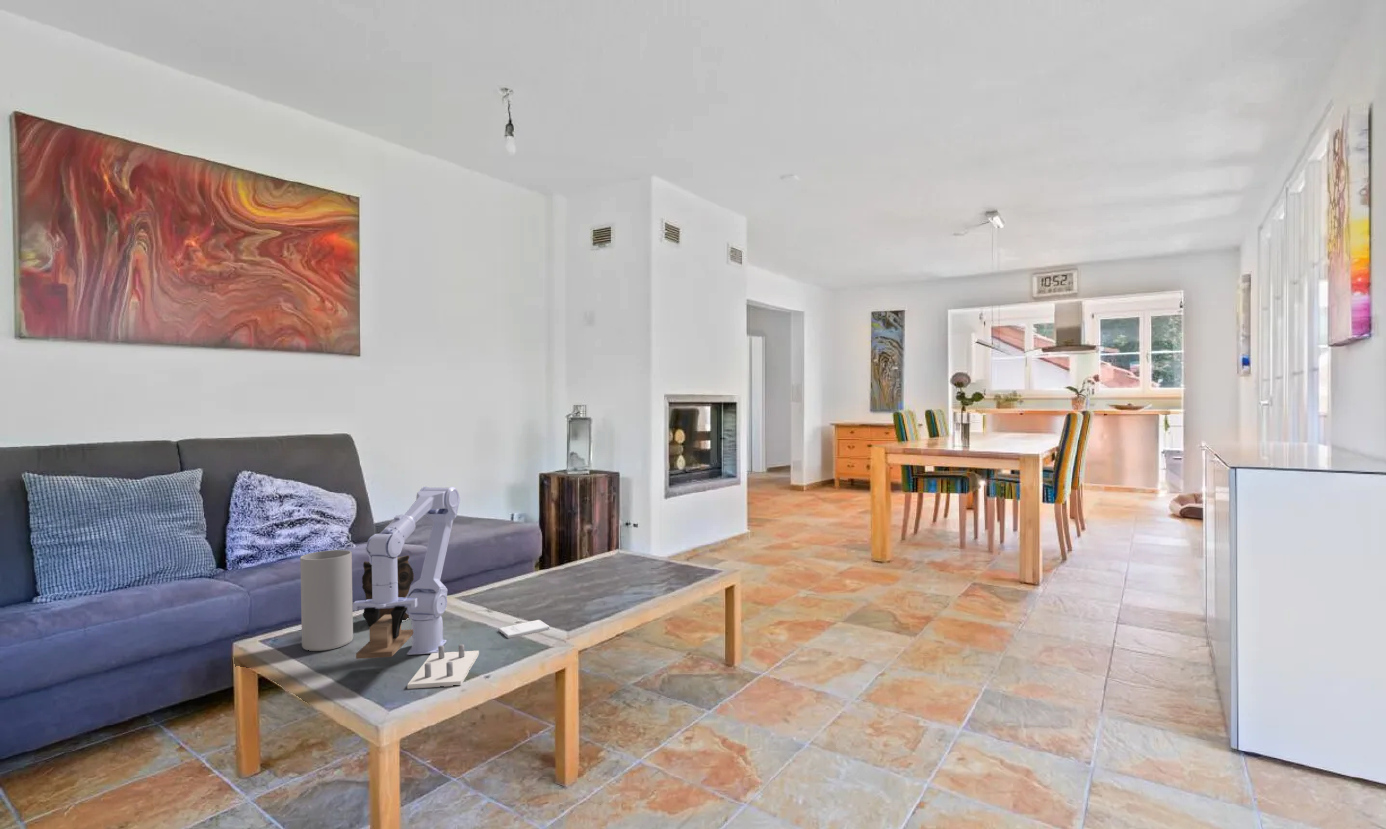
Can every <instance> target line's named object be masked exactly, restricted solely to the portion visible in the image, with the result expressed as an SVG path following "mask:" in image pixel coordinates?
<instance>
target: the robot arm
mask: <svg viewBox="0 0 1386 829" xmlns="http://www.w3.org/2000/svg"><path fill="white" fill-rule="evenodd" d="M415 498H416V500H415V501H414V502H413V504H412V505H411V506H410V507H409V509H408V510H407V511H406V512H405V513H404V514H398V515H395V516H394V517H393V520H391V522H389V524H387V525H386V526H385V528H384V529H383V530H381V531H380V533H374V534H373V535H372V536H370V537H369V538H368V540H367V542H366V546H365V552H366V555H367V556H368V559H369V560H368V562H369V563H370V564H371V565H372V599H369V600H366V599H363V600H355V601H354V602H353V612H355V611H356V612H357V611H359V610H363V613H362V617H363V618H364V620H365V622H366V624H367V626H368V625H369V627H368V628H370V627H371V626H372V625H373V624H374V623H375V622H377V621H378V620H379V616H380V609H384V608H394V610H392V611H391V616H392V623H393V639H396V638H397V637H398V636H399V630H400V626H401V627H402V624H403V622H402V620H403V617H404V615H405V613H406V614H408V615H409V618H411V619H410V620H411V629H413V635H412V636H411V648H409V650H408V651H407V652H406V655H407V656H411V655H415V656H416V655H429V654H430V655H431V653H438V647H439V646H441V645H443V646H445V645H446V644H447V639H444V626H443V625H444V623H443V617H442V615H444V612H446V609H447V606H448V588H447V586H445V584H444V583H443V582H442V581H441V579H442V574H443V569H444V564H445V560H446V555H447V551H448V546H449V541H450V538H451V533H452V527H453V524H454V520H455V519H456V518H457V515H458V510H459V506H460V502H461V497H460V494H459V491H458V489H457V488H456V487H454V486H449V487H442V486H440V487H436V486H431V487H430V486H423V487H421V489H420V490H418V492H416V497H415ZM424 516H425V517H426V518H428V519H429V520H431V522H432V526H431V531H430V534H429V538H428V542H427V543H428V544H427V547H426V551H425V557H424V561H423V564H422V569H421V573H420V577H419V579H418V580H416V581H415V582H412V583H411V585H410V589H409V592H408V594H407V596H406V598H402V597H398V568H397V557H399V555H401V553H402V550H403V547H404V545H405V542H406V541H407V539H408V538H409V537H410V536H411V535H412V534H413V533H414V531H415V530H416V528H417V527H416V523H417V522H418V521H420V520H421V519H423V517H424Z"/></svg>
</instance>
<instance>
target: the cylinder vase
mask: <svg viewBox="0 0 1386 829" xmlns="http://www.w3.org/2000/svg"><path fill="white" fill-rule="evenodd" d="M352 554H353V553H352V551H351V550H346V549H334V550H330V549H329V550H323V551H315V552H310V553H306V554H304V555H301V556H300V599H301V600H300V607H301V608H300V611H301V612H300V613H301V620H300V622H301V647H302V648H303V649H304V650H306V651H308V650H309V652H310V651H311V652H324V651H330V650H334V649H338V648H341V647H344V646H346V645H349V643H351V642H352V640H353V639H354V615H353V614H354V611H353V603H354V602H353V561H352V559H353V557H352Z"/></svg>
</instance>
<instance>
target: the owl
mask: <svg viewBox="0 0 1386 829" xmlns="http://www.w3.org/2000/svg"><path fill="white" fill-rule="evenodd" d="M409 559H410V555H403V556H397V568H398V597H402V598H406V596H407V594H408V592H409V589H410V586H411V585H412V584H413V581H414V580H415V577H414V576H415V575H414V569H413V568H412V566H411V564H410V562H409ZM362 566H363V570H364V571H363V574H362V577H361V583H362V587H361V588H362V590H363V592H364V596H365V600H369V599H372V565H371V564H370V563H369V561H366V560H365V561H363V565H362ZM392 610H394V608H384V609H380V616H379V619H380V618H381V617H382V616H384V615H389V614H391V611H392ZM407 618H409V615H408V614H406V613H405V615H404V617H403V620H406V619H407ZM368 626H369V625H368V624H367V627H368Z"/></svg>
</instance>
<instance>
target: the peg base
mask: <svg viewBox="0 0 1386 829" xmlns="http://www.w3.org/2000/svg"><path fill="white" fill-rule="evenodd" d="M479 655H480V650H465V644H462V643H461V644H458V651H447V652H445V645H441V646H439V647H438V653H431V654H430V655H429V656H428V657H427V659H426V660H425V661H424V663H423V664H422V665H421V666H420V668H418V670H417V671H416V673H415V674H414V676H412V678H411V679H410V680H409V682H408V683H407V690H410V689H422V688H423V689H424V688H425V689H426V688H441V687H440V686H444V687H454V686H453V685H460V686H462V685H463V683H464V681H465V680H466V677H467V676H468V674H469V672H470V671H469V670H471V668H472V667H473V665H474V664H475V662H476V660H477V658H478V657H479ZM461 684H462V685H461Z"/></svg>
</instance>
